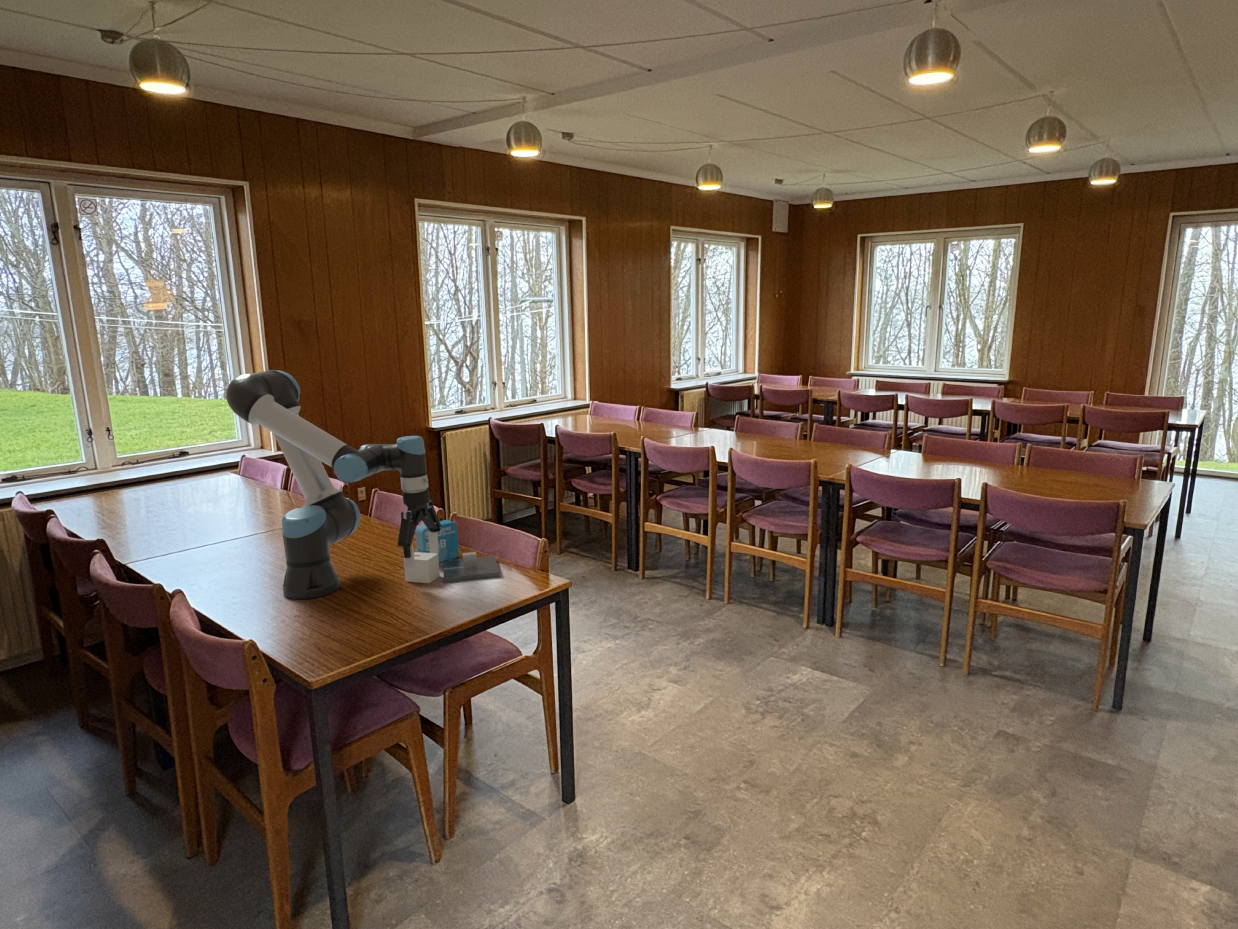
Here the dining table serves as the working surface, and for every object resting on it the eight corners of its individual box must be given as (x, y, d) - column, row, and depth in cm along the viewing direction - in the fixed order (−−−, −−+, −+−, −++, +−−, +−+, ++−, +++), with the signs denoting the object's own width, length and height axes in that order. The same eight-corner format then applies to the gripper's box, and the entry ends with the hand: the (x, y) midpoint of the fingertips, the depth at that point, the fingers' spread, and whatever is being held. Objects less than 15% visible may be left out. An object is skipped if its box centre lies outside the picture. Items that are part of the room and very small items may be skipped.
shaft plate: (499, 576, 228) (498, 559, 227) (443, 583, 224) (442, 564, 223) (495, 560, 243) (493, 543, 242) (442, 565, 239) (440, 548, 238)
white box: (429, 583, 224) (427, 559, 223) (405, 581, 226) (403, 558, 225) (439, 576, 230) (438, 553, 229) (416, 574, 232) (414, 551, 231)
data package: (424, 566, 239) (421, 529, 237) (418, 563, 243) (415, 526, 240) (459, 557, 247) (456, 521, 244) (452, 554, 250) (450, 518, 248)
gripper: (403, 500, 210) (411, 575, 214) (448, 480, 233) (454, 547, 238) (379, 500, 212) (387, 573, 216) (426, 480, 235) (432, 546, 240)
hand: (422, 560), depth 227 cm, fingers open, 13 cm apart
